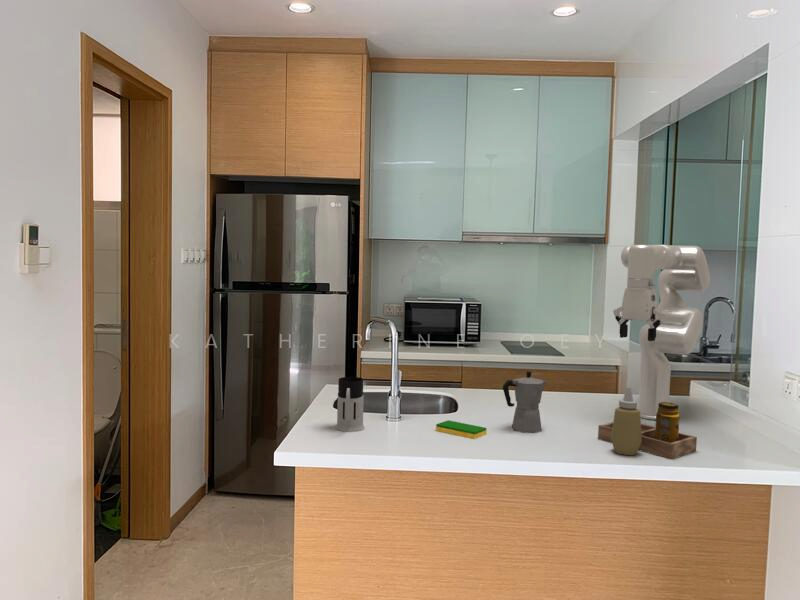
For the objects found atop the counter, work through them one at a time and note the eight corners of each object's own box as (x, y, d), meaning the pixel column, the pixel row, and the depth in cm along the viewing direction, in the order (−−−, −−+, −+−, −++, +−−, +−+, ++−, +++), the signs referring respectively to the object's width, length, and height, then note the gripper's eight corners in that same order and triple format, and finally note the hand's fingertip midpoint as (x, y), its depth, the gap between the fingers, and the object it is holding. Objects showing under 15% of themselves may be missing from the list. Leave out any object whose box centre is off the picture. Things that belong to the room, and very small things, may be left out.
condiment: (684, 447, 181) (686, 405, 180) (665, 451, 176) (668, 408, 176) (661, 440, 187) (663, 399, 186) (643, 444, 182) (645, 402, 182)
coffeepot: (536, 423, 207) (539, 368, 206) (553, 431, 198) (555, 373, 197) (494, 427, 202) (496, 369, 201) (509, 435, 193) (511, 375, 192)
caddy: (623, 432, 199) (623, 419, 199) (696, 451, 181) (696, 437, 181) (597, 438, 191) (598, 425, 191) (671, 459, 173) (672, 444, 173)
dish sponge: (474, 440, 188) (475, 432, 188) (435, 432, 196) (435, 424, 196) (486, 435, 193) (487, 427, 193) (447, 427, 202) (448, 419, 201)
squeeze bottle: (605, 448, 182) (608, 384, 180) (633, 448, 182) (636, 385, 181) (617, 457, 174) (620, 390, 172) (646, 457, 174) (649, 391, 173)
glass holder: (365, 424, 201) (366, 376, 200) (361, 437, 187) (362, 386, 186) (337, 423, 201) (338, 376, 200) (331, 436, 187) (332, 385, 186)
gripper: (672, 285, 197) (669, 341, 198) (622, 283, 211) (619, 335, 212) (659, 286, 193) (656, 343, 194) (608, 283, 206) (606, 336, 207)
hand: (637, 339), depth 203 cm, fingers open, 9 cm apart
